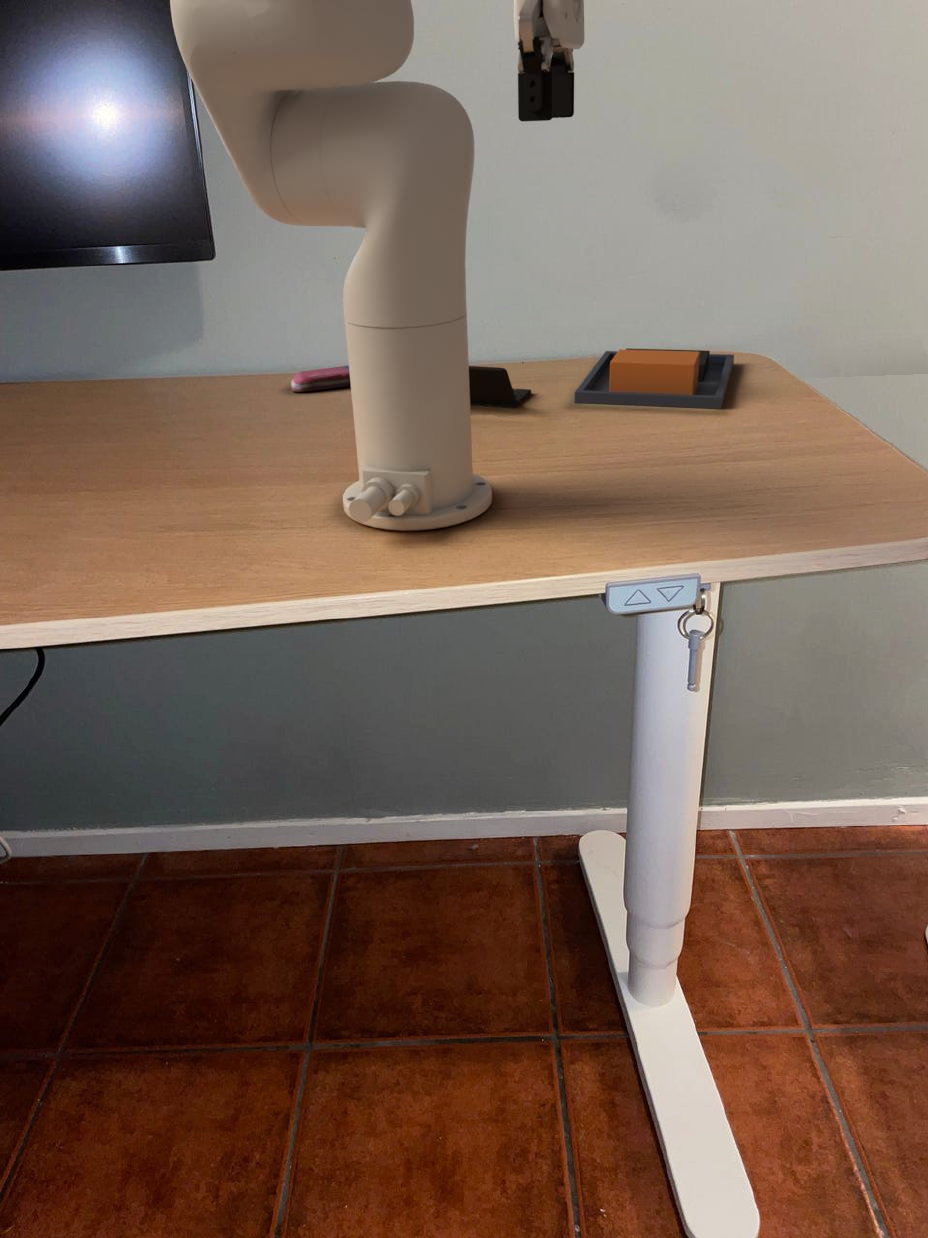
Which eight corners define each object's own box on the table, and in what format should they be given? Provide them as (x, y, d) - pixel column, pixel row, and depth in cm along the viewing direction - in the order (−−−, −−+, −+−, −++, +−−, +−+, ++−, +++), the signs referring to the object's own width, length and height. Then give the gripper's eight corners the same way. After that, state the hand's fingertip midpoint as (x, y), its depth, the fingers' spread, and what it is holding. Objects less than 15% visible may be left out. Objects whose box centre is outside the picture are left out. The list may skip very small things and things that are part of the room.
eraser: (293, 394, 119) (291, 379, 118) (289, 386, 122) (287, 371, 121) (386, 382, 121) (384, 367, 120) (379, 374, 124) (378, 360, 124)
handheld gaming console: (533, 377, 114) (513, 318, 106) (531, 429, 111) (510, 373, 103) (437, 390, 117) (410, 333, 109) (433, 441, 114) (404, 387, 106)
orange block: (692, 401, 108) (694, 364, 106) (609, 398, 110) (610, 361, 108) (697, 387, 113) (700, 351, 111) (617, 384, 115) (619, 349, 113)
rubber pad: (703, 381, 114) (704, 364, 114) (616, 378, 117) (616, 361, 116) (708, 367, 120) (709, 350, 119) (625, 364, 123) (626, 348, 122)
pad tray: (720, 413, 105) (722, 397, 104) (574, 407, 109) (574, 391, 108) (733, 368, 121) (734, 354, 121) (605, 364, 126) (605, 350, 125)
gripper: (568, -115, 81) (566, 120, 89) (605, -85, 96) (601, 115, 104) (480, -105, 83) (486, 123, 91) (529, -78, 98) (530, 117, 106)
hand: (547, 118), depth 98 cm, fingers open, 9 cm apart
